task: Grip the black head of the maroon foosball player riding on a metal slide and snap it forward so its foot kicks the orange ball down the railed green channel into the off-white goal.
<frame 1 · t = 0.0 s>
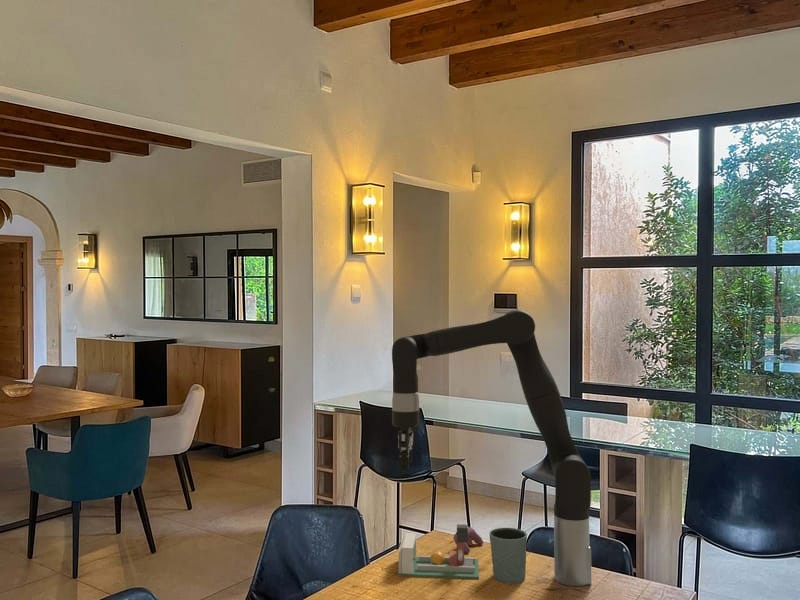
hand: (405, 467, 182), 29 cm above the table, fingers open, 8 cm apart
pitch: (439, 568, 185), on the table
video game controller: (468, 548, 202), on the table
ball: (437, 559, 185), point 3 cm above the table, touching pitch
green cup: (508, 578, 179), on the table
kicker: (461, 546, 185), point 6 cm above the table, slide at 0.0 cm
goal: (409, 567, 186), resting on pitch
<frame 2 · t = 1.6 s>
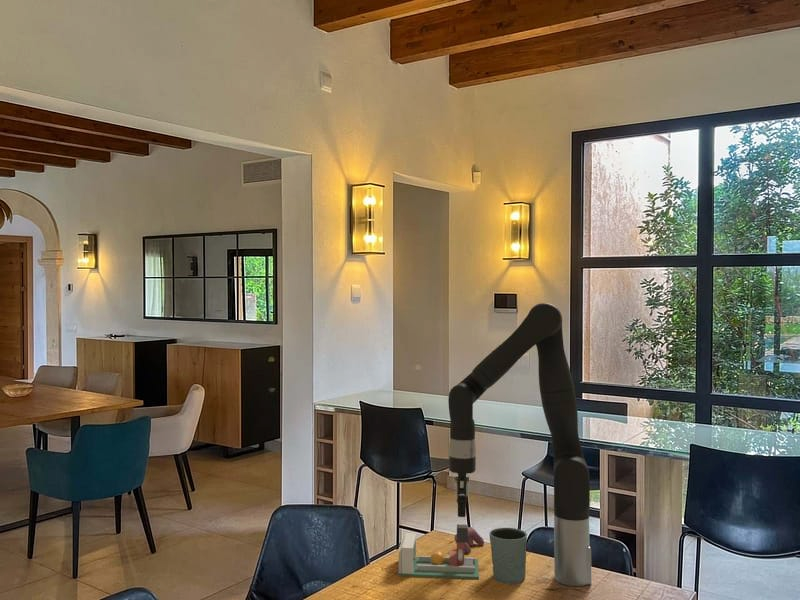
hand: (461, 512, 185), 16 cm above the table, fingers open, 8 cm apart
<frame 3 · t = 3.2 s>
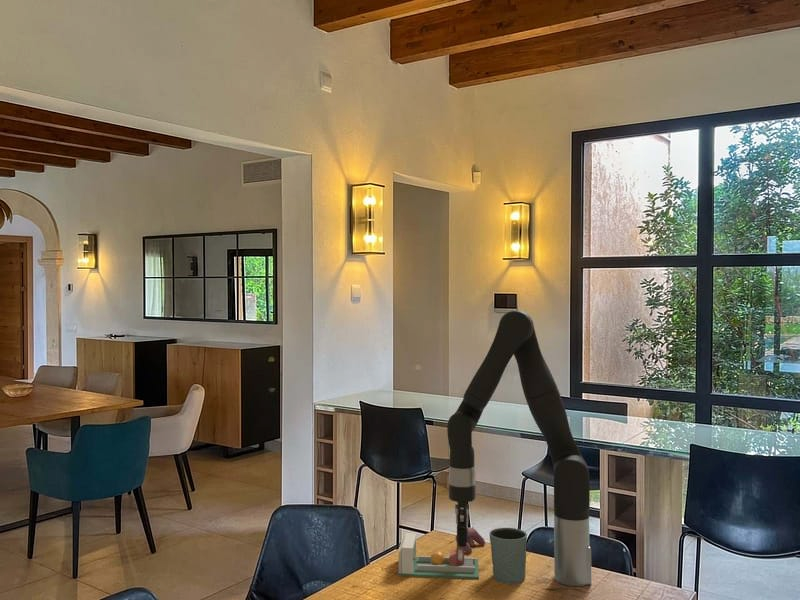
hand: (462, 543, 185), 7 cm above the table, fingers closed on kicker, 3 cm apart
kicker: (461, 546, 185), point 6 cm above the table, slide at 0.0 cm, touching gripper
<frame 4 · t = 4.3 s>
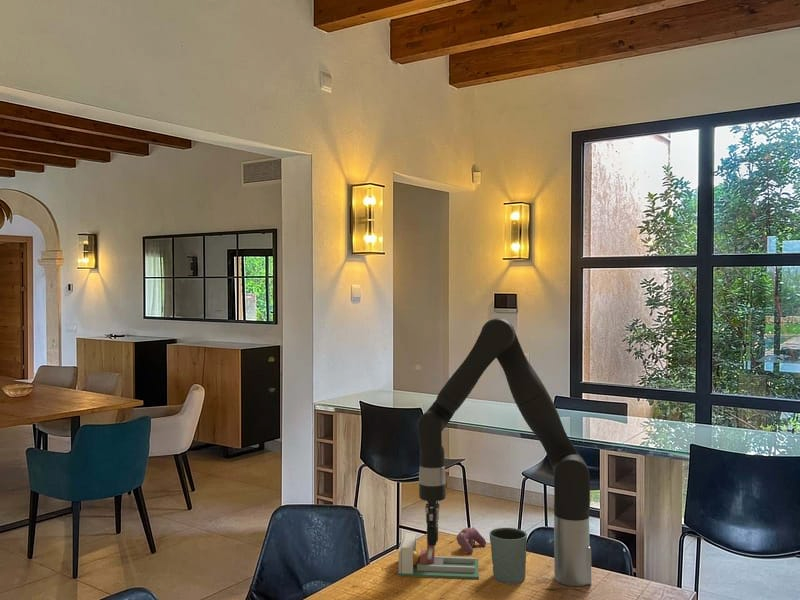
hand: (432, 542, 186), 7 cm above the table, fingers closed on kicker, 3 cm apart
ball: (412, 558, 186), point 3 cm above the table, tilted 167°, touching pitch
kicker: (431, 545, 186), point 6 cm above the table, slide at 8.4 cm, touching gripper
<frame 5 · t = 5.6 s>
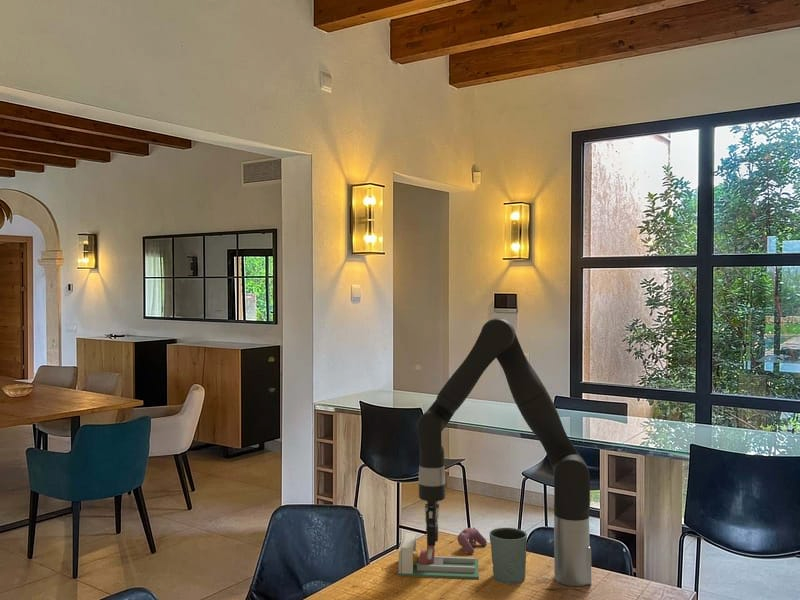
hand: (432, 541, 186), 8 cm above the table, fingers open, 6 cm apart
ball: (411, 558, 186), point 3 cm above the table, tilted 159°, touching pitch
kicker: (431, 545, 186), point 6 cm above the table, slide at 8.4 cm
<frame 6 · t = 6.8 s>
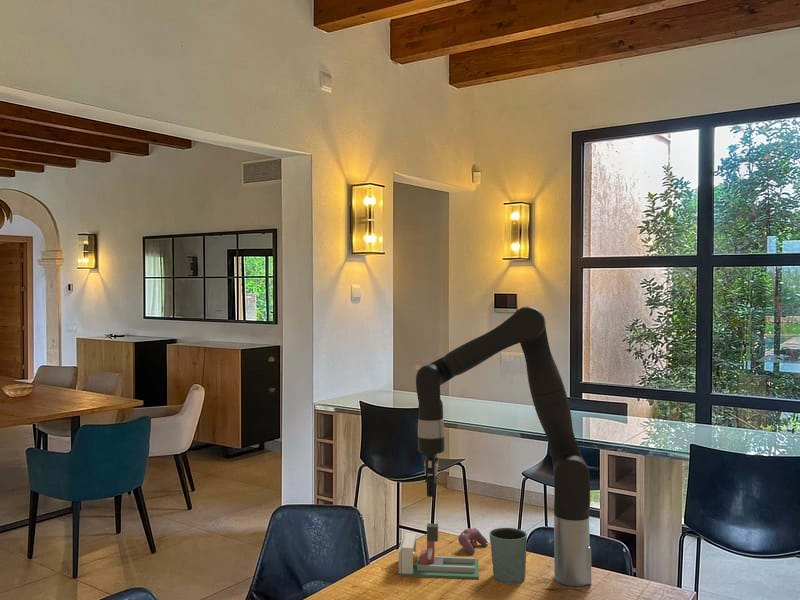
hand: (431, 492, 186), 21 cm above the table, fingers open, 8 cm apart
ball: (410, 558, 186), point 3 cm above the table, tilted 151°, touching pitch
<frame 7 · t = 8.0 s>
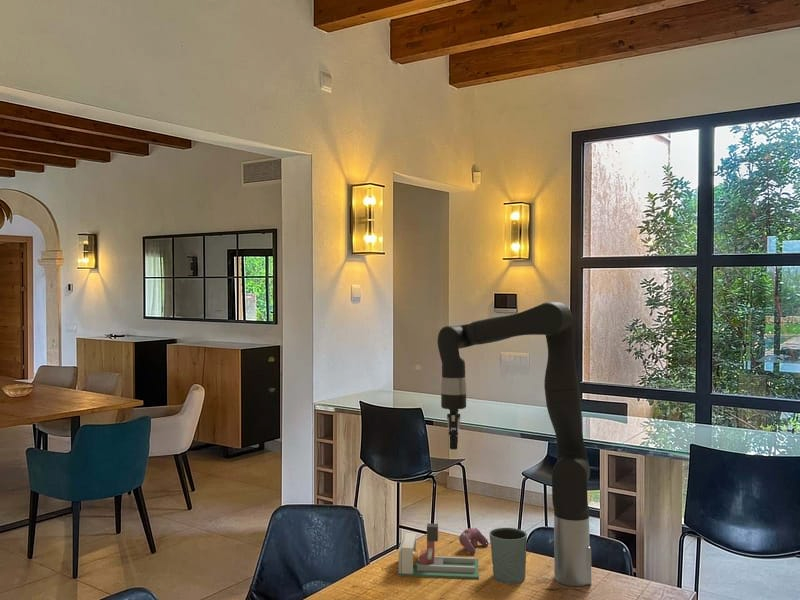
hand: (453, 446, 197), 32 cm above the table, fingers open, 8 cm apart
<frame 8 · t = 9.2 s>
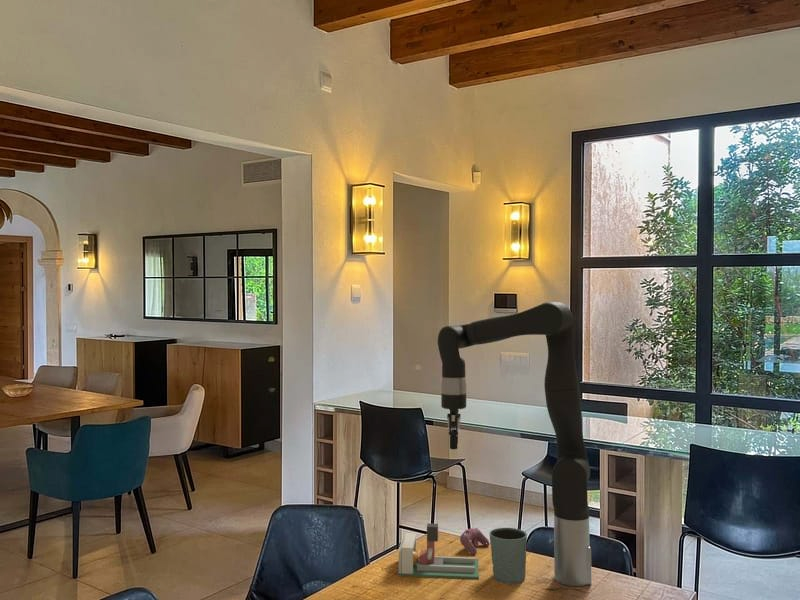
hand: (454, 446, 197), 32 cm above the table, fingers open, 8 cm apart
at the end: ball 0.6 cm from the target spot, point 2.6 cm above the table; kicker slide at 8.4 cm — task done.
